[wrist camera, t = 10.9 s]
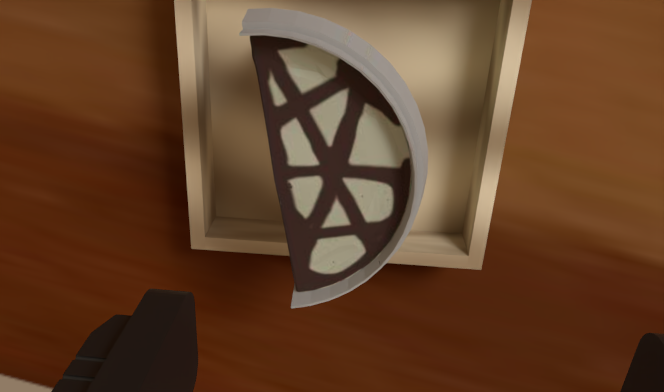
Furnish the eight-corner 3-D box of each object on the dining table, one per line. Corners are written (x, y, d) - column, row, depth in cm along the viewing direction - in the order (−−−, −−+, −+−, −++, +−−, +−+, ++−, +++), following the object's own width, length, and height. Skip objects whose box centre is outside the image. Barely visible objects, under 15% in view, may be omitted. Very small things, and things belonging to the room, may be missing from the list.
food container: (421, 202, 32) (440, 309, 23) (314, 211, 33) (293, 319, 24) (405, -29, 27) (423, -7, 18) (279, -13, 28) (235, 17, 19)
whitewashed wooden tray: (191, -70, 28) (169, -69, 25) (521, -52, 27) (541, -49, 24) (207, 219, 35) (191, 248, 32) (470, 237, 34) (481, 269, 31)
